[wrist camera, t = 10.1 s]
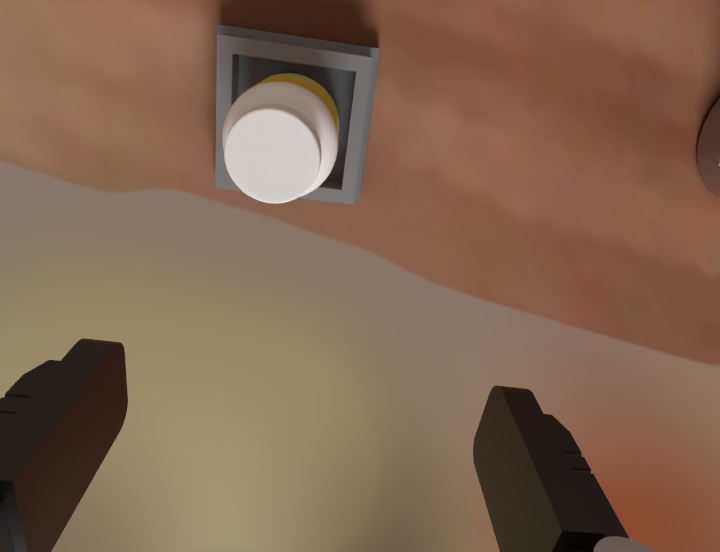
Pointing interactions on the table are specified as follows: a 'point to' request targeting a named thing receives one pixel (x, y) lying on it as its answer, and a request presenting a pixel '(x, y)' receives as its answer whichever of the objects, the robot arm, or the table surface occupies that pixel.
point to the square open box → (318, 60)
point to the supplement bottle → (281, 137)
